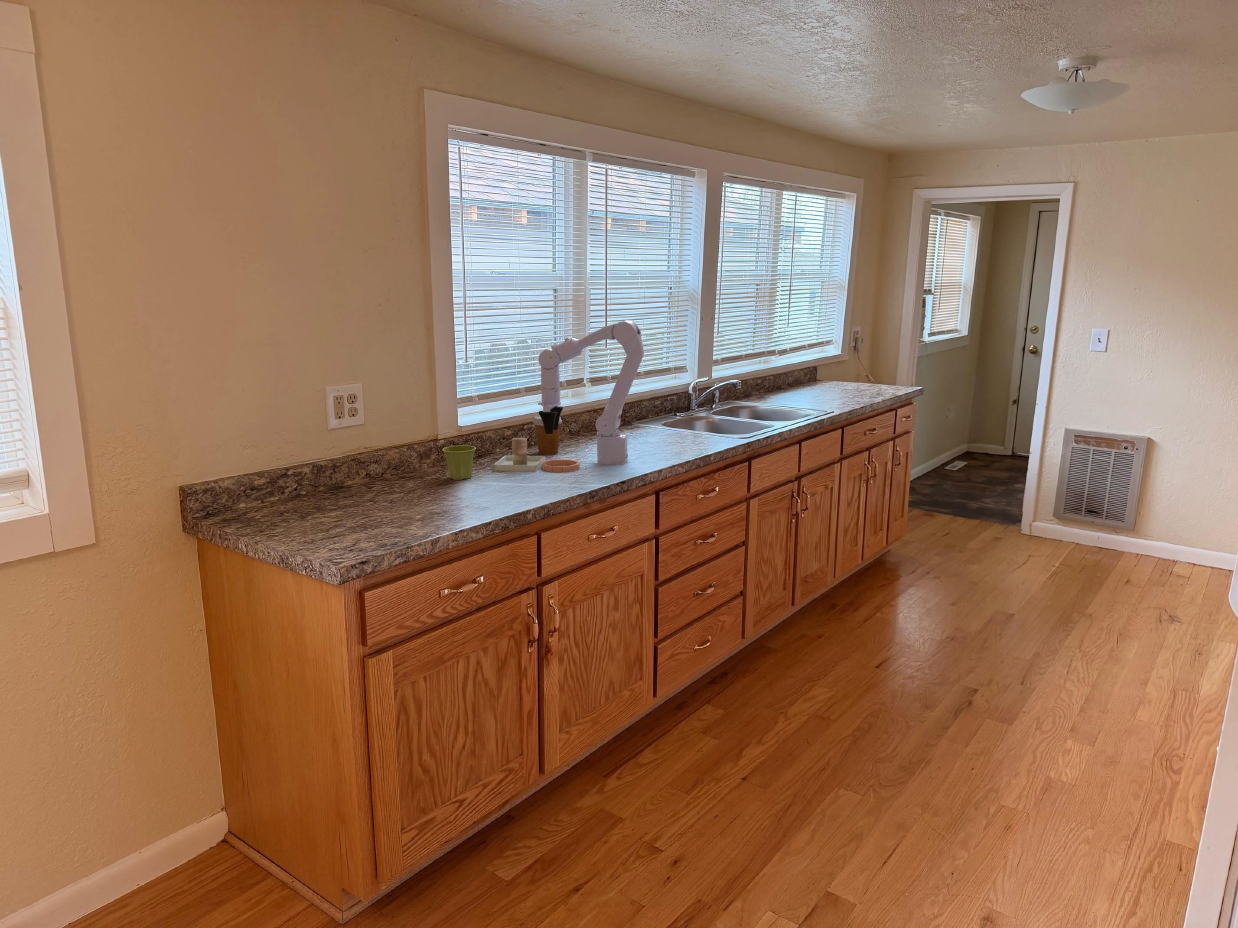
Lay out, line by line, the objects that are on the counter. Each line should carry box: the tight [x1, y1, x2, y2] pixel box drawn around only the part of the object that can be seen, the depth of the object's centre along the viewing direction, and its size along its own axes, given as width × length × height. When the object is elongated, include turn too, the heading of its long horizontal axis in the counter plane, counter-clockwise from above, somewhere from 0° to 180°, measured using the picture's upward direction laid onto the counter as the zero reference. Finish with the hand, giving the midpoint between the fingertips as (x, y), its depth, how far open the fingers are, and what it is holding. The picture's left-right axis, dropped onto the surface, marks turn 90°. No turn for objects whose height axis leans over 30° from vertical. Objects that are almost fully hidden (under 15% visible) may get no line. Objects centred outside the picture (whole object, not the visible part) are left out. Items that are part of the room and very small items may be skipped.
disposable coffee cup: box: [532, 415, 563, 456], centre depth 280 cm, size 10×10×12 cm
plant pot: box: [442, 444, 477, 481], centre depth 246 cm, size 9×9×9 cm
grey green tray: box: [492, 455, 547, 472], centre depth 259 cm, size 13×14×2 cm
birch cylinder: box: [511, 437, 528, 465], centre depth 258 cm, size 4×4×8 cm
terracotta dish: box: [541, 458, 581, 473], centre depth 256 cm, size 11×11×2 cm
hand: (551, 431), depth 266 cm, fingers open, 7 cm apart
